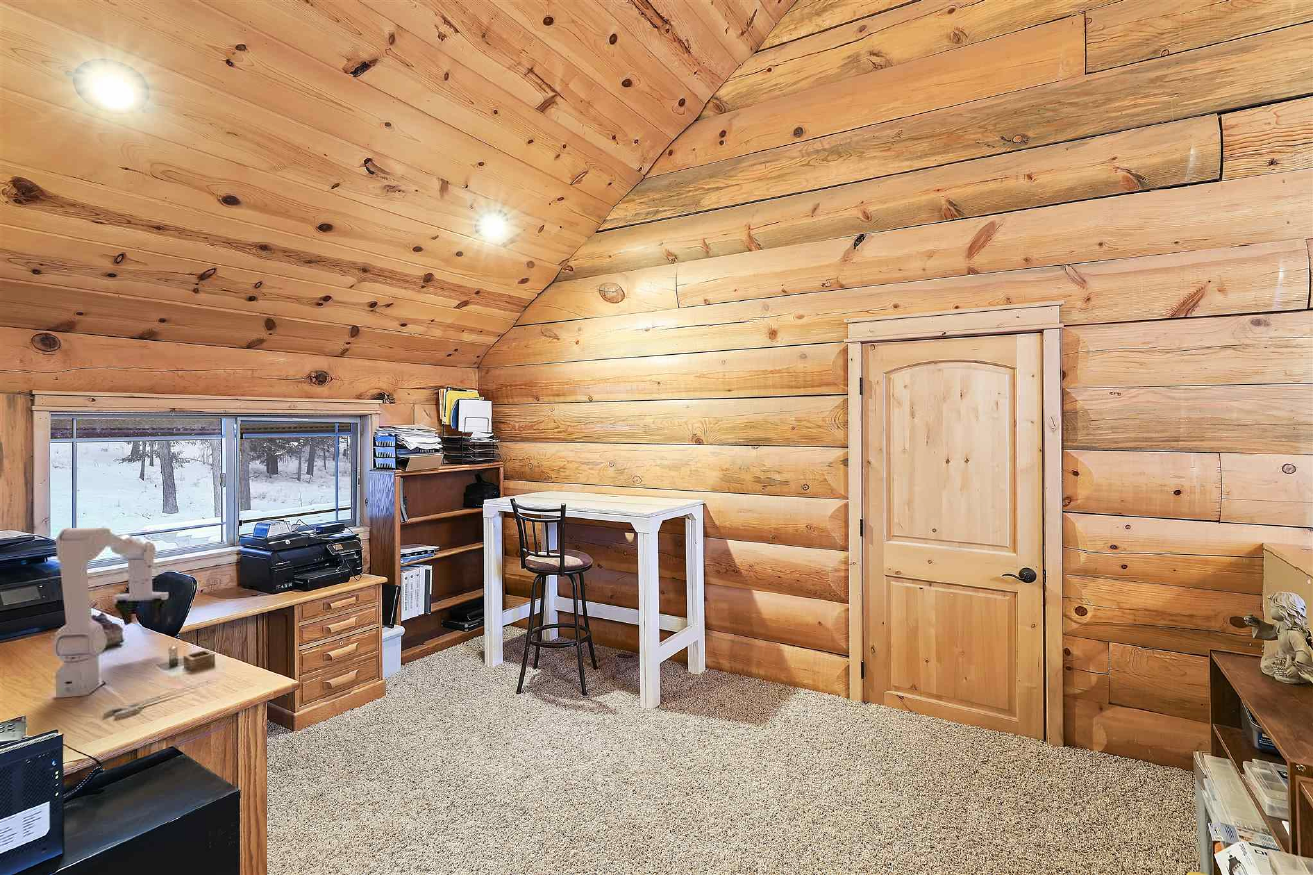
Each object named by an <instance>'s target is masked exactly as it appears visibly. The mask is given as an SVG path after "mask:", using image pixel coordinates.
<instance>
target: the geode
mask: <svg viewBox="0 0 1313 875" xmlns="http://www.w3.org/2000/svg"><path fill="white" fill-rule="evenodd" d="M92 619H93V620H94V621H96V622H98V623H99V624H101V625H102V626H103V631H104V633H105V635H106V638H107V643H106V646H105V648H104V649H107V648H109V647H113V646H115V645H119V644H122V643H124V641H125V638H124V634H123V632H124V629H123V627H122V626H121V625H120V624H118V623H115V622H113V621H112V620H110V619H108V617H107V615H106V614H105V613H104V612H100V614H98V615H96V614H92Z"/></svg>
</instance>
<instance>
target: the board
mask: <svg viewBox="0 0 1313 875" xmlns="http://www.w3.org/2000/svg"><path fill="white" fill-rule="evenodd" d="M214 666H219V663H217V661H215V665H214ZM153 667H154V668H156V669H158V671H160V672H161V673H163V674H165V675H166V676H168V677H169V678H172V677H177V676H180V675H184V674H189V673H191V671H190V670H188V669H186V668H185V667H184V665H183V666H179V667H175V668H171V669H167V670H162V669H161V668H159V667H158V666H156V665H154V666H153ZM210 667H212V666H210ZM207 668H208V667H206V668H205V669H207ZM199 670H201V669H199ZM199 670H198V671H199ZM195 671H197V670H195ZM195 671H194V672H195Z"/></svg>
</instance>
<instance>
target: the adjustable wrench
mask: <svg viewBox="0 0 1313 875" xmlns="http://www.w3.org/2000/svg"><path fill="white" fill-rule="evenodd" d="M213 680H215V681H213ZM209 681H210V679H208V680H206V681H202V682H198V683H195V684H193V685H189V686H185V687H182V688H180V689H177V690H173V691H170V692H167V693H163V694H159V695H158V696H155V697H151V698H148V699H144V700H139V701H135V702H131V703H130V702H129V703H126V704H120V705H116V706H113V707H110V708H107V709H106V710H104V711H103V716H102V717H103V719H106V718H109V717H110V716H113V715H114V718H113V719H114V720H118V719H123V718H127V717H131V716H133V715H137V714H138V713H140V712H141V711H142V710H145V709H147V708H148V707H149V708H150V707H152V706H154V705H158V704H160V703H164V702H167V701H170V700H174V699H176V698H181V697H183V696H185V695H190V694H193V693H195V692H197V690H196V691H193V692H189V693H186V694H182V695H179V696H175V697H172V698H168V697H170V696H174V695H178V694H181V693H184V692H188V691H190V690H194V689H196V688H200V687H203V686H207V685H209V684H210V685H211V684H213V683H215V682H217V681H218V679H217V678H215V679H214V678H212V679H211V681H212V682H209ZM203 683H205V684H203ZM200 684H201V685H200ZM197 685H199V686H197ZM194 686H195V687H194ZM175 692H176V693H175ZM165 698H168V699H165ZM162 699H165V700H162ZM158 700H160V701H159V702H158ZM161 700H162V701H161ZM155 701H157V702H155ZM151 702H152V703H151ZM153 702H155V703H153ZM149 703H151V704H149ZM147 704H148V705H147Z"/></svg>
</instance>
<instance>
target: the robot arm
mask: <svg viewBox="0 0 1313 875" xmlns="http://www.w3.org/2000/svg"><path fill="white" fill-rule="evenodd" d="M55 546H56V547H55V548H56V549H55V550H56V558H57V560H58V562H59V568H60V569H59V570H60V577H61V580H60V581H61V588H62V597H63V606H64V616H65V625H63V626H62V627H61V628H59V629H58V630H57V631H56V632H55V633H54V636H55V637H54V638H55V640H54V643H53V652H54V654H55V656H57V657H58V658H59V660H60V661H62V665H61V666H60V667H59V668H58V669H57V671H56V673H55V677H54V678H55V694H54V695H52V696H51V698H52V699H58V698H59V699H60V698H70V697H80V696H88V695H90V694H91V693H92V692H93V691H95V690H97V689H98V688H99V687H102V686H103V685H104V684H106V681H104V680H100V668H99V666H100V665H99V664H100V663H99V660H100V659H99V656H100V654H102V652H103V651H104V650H105V649H106V648H105V646H106V643H107V638H106V635H105V633H104V631H103V626H102V625H101V624H99V623H98V622H96V621H94V620H93V619H92V615H93V614H92V606H91V597H90V587H89V586H90V585H89V577H88V575H89V574H88V569H87V564H89V561H92V560H94V559H96V558H97V557H98V556H99V555H100V554H101V553H102V552H104V550H105V549H106V548H107V547H108V548H110V550H111V551H112V552H113V553H114V554H116V555H119V556H122V557H123V559H124V561H127V566H128V571H127V572H128V592H129V593H121V594H115V595H112V602H113V603H115V604H114V608H115V609H116V610H117V611H118V612H119V613H120V614H119V615H120V616H121V618H122V620H123V622H124V623H123V624H124V626H128V625H130V624H131V623H132V620H133V617H132V610H133V604H134V601H135V602H137V601H149V602H148V605H149V607H150V613H151V614H150V615H151V623H152V624H157V623H158V622H159V619H160V615H161V612H162V610H163V607H164V606H165V604H166V602H167V600H168V599H169V592H168V591H166V592H164V591H163V592H162V591H153V571H152V570H153V569H152V568H153V567H152V566H153V565H154V562H155V556H156V552H157V549H156V546H155V544H154V543H152V542H151V541H142V540H141V539H140V538H135V537H132V534H130V533H125V534H122V535H117V534H115V533H113V532H112V531H111V530H110V528H109V527H105V526H99V527H76V528H75V527H73V528H71V527H66V528H63V529H62V530H61V531H60V532H59V534H58V535H57V537H56V539H55Z"/></svg>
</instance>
